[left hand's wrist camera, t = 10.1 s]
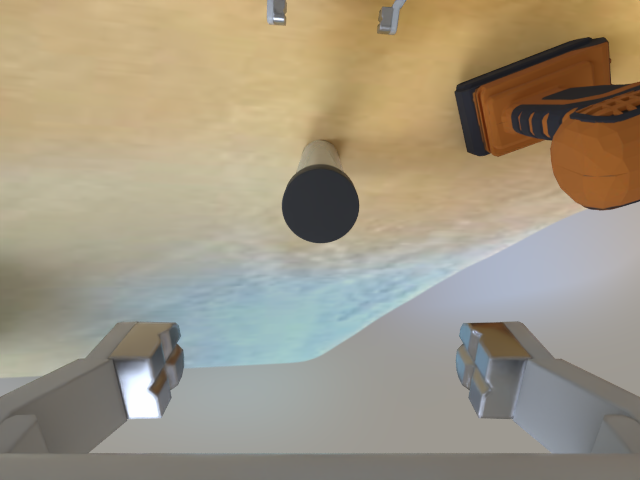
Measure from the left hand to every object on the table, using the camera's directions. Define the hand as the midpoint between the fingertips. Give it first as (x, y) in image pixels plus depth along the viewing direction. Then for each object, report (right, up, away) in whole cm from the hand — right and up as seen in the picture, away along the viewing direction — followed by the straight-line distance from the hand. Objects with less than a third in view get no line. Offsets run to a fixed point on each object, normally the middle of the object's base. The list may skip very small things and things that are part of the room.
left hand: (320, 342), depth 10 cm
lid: (0, +5, +13) cm, 14 cm away
